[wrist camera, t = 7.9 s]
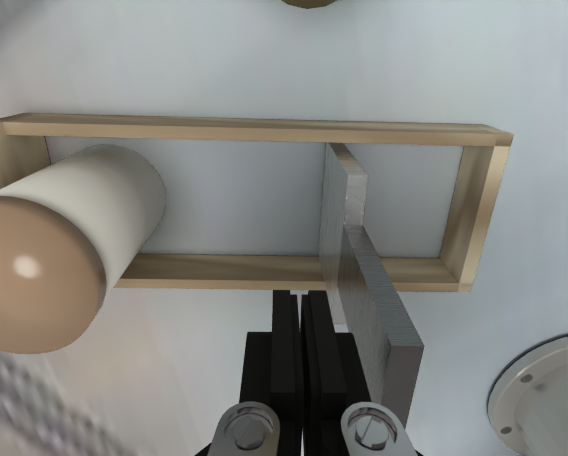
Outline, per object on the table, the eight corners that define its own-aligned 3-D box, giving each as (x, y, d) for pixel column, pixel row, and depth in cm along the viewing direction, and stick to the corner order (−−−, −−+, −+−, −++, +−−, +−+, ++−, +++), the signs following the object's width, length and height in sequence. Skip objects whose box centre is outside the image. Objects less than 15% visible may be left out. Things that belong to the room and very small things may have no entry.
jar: (172, 241, 24) (108, 354, 15) (73, 240, 24) (-54, 353, 15) (162, 143, 21) (76, 207, 12) (51, 141, 21) (-119, 204, 12)
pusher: (330, 253, 24) (393, 480, 11) (318, 253, 24) (366, 480, 11) (340, 140, 21) (441, 270, 8) (326, 139, 21) (405, 269, 8)
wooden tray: (449, 266, 25) (487, 313, 20) (60, 260, 24) (10, 307, 20) (483, 124, 21) (539, 142, 17) (24, 113, 21) (-49, 128, 16)
